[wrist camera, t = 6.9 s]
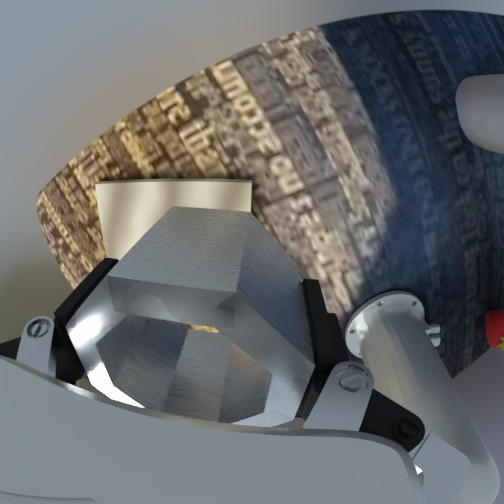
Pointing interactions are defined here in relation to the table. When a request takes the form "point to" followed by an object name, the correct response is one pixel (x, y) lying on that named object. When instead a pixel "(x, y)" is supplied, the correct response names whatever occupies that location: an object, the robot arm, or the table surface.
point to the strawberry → (495, 328)
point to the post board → (159, 204)
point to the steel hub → (200, 322)
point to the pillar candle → (482, 110)
